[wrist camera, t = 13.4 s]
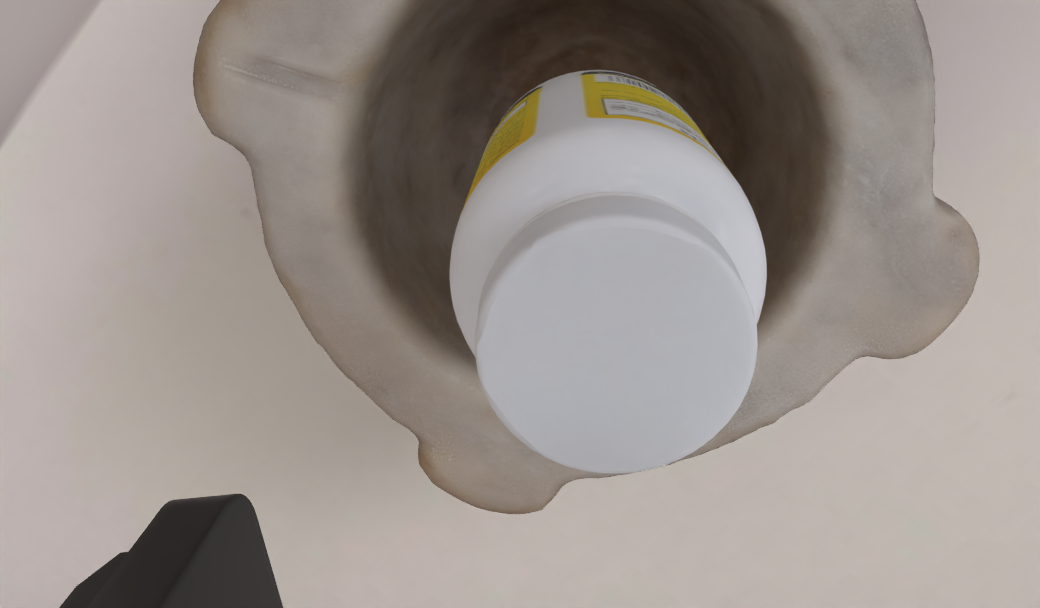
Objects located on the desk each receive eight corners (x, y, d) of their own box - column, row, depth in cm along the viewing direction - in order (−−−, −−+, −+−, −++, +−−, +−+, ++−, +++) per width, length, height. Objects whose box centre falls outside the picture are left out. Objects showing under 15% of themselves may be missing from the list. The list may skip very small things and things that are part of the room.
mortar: (907, 244, 31) (1034, 353, 23) (465, 416, 35) (432, 567, 26) (741, -270, 26) (825, -377, 18) (240, -12, 30) (106, 2, 21)
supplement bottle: (515, 311, 23) (478, 546, 14) (454, 100, 21) (366, 214, 12) (729, 261, 22) (836, 477, 13) (684, 39, 21) (774, 112, 11)
